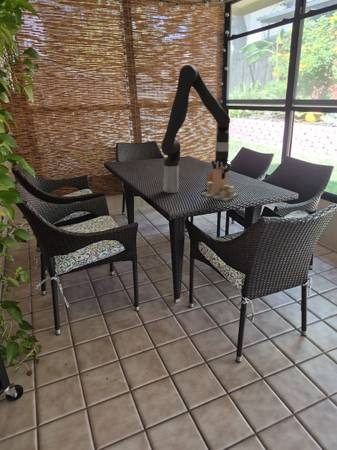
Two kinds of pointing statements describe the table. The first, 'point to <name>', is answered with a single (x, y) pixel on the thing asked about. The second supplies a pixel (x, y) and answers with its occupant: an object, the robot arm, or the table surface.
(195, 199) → the table surface
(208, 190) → the ash slotted base
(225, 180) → the terracotta slotted plate
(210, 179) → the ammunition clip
